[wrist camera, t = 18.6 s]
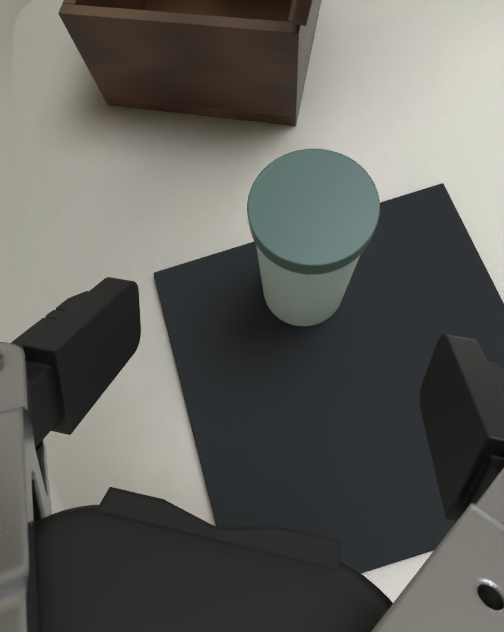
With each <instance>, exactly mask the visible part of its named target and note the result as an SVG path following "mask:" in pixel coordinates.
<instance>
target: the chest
mask: <svg viewBox="0 0 504 632" xmlns="http://www.w3.org/2000/svg"><path fill="white" fill-rule="evenodd" d="M296 3H297V0H64V1H63V4H62V6H61V8H60V11H59V15H60V17H61V19H62V21H63V23H64V25H65V27H66V28H67V30H68V32H69V34H70V36H71V38H72V40H73V41H74V43H75V45H76V47H77V49H78V51H79V53H80V54H81V56H82V58H83V60H84V62H85V64H86V66H87V67H88V69H89V71H90V73H91V75H92V77H93V78H94V80H95V82H96V84H97V86H98V88H99V90H100V91H101V93H102V95H103V97H104V99H105V101H106V102H107V104H108V105H115V106H124V107H133V108H142V109H151V110H160V111H169V112H178V113H187V114H196V115H205V116H214V117H223V118H232V119H241V120H250V121H259V122H268V123H277V124H286V125H296V123H297V118H298V113H299V108H300V103H301V98H302V93H303V88H304V83H305V78H306V73H307V68H308V64H309V59H310V54H311V49H312V44H313V39H314V34H315V29H316V24H317V19H318V14H319V9H320V4H321V0H313V2H312V6H311V10H310V14H309V19H308V23H307V25H306V26H302V25H298V24H294V23H293V18H294V13H295V8H296Z"/></svg>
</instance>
